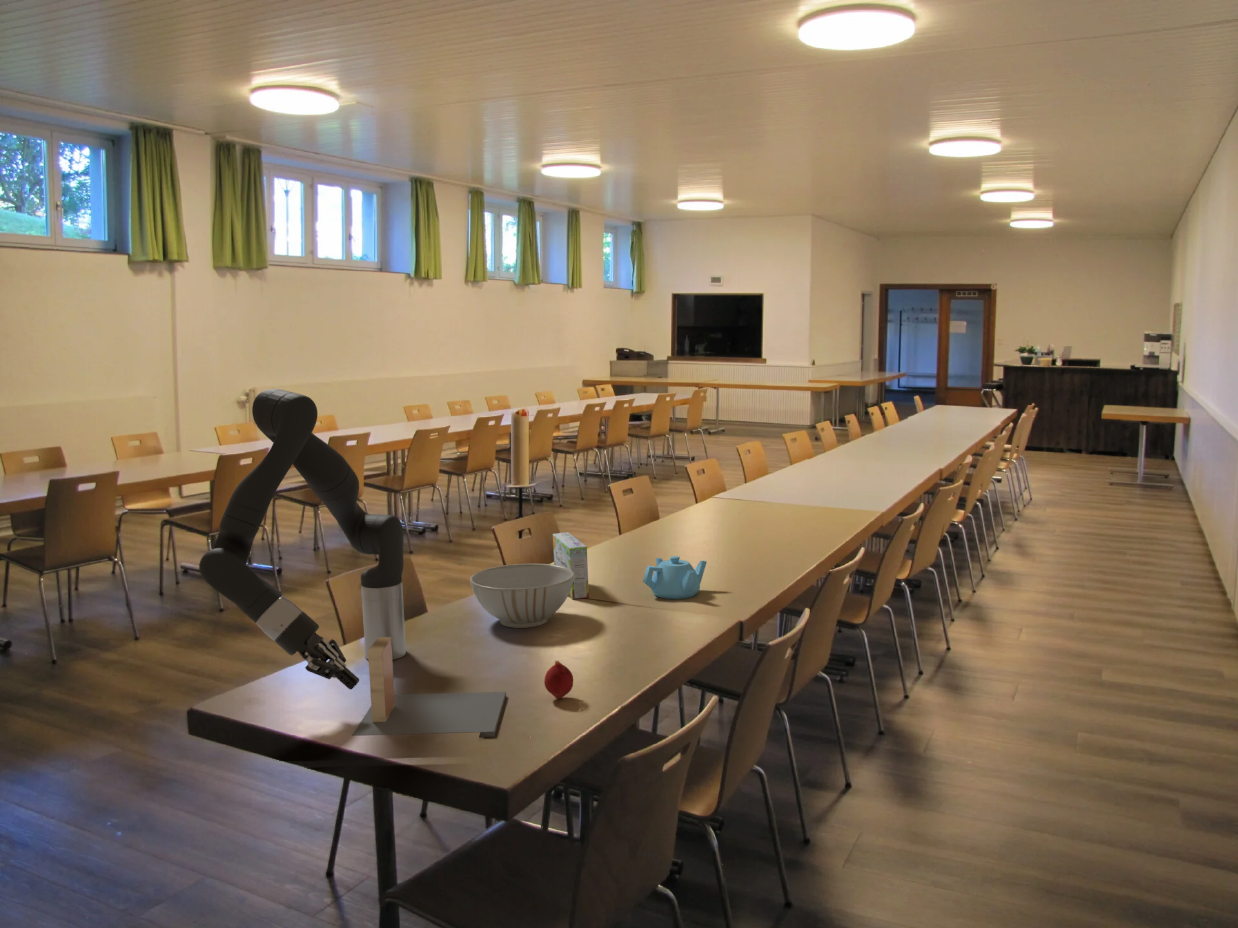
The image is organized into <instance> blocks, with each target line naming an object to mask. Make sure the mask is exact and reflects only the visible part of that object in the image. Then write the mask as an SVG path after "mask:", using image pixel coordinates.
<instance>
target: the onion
mask: <svg viewBox="0 0 1238 928" xmlns="http://www.w3.org/2000/svg"><path fill="white" fill-rule="evenodd" d="M543 681H544V687H545V689H546V691H548V693H549V694H551V695H552V696H553V697H554V698H555V699H557V700H561V699H562V698H564V697H565V696H567V695H568V694H569V693H570V692H571V691H572V689H573V686H574V675H573V673H572V672H571V670H570V669H569V668H568V667H567V666H566V665H564V664H562V663H561V662H560V660H558V659H555V661H554V665H552V666H551V667H550V668H549V669H548V670H547V671H546V673H545V676H544V680H543Z"/></svg>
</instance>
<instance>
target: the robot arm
mask: <svg viewBox="0 0 1238 928" xmlns="http://www.w3.org/2000/svg"><path fill="white" fill-rule="evenodd" d="M251 410H252V412H251V413H252V418H253V421H254V423H255V425H256V427H257V428H258V429H259V431H261V433H262V434H263V435H264V436H265V437H266V438H268V440H270V442H272V445H271V447H270V448H269V450H268V452H267V453H266V455H265V456H264V458H263V459H262V460H261V461H260V462H259V463H258V465H256V466H255V467H254V468H253V470H251V471H250V472H249V473H248V474H247V475H246V476H245V477H244V478H243V479H242V480H241V481H240V482H239V483H238V484H237V486H236V487H235V489H234V491H233V492H232V494H231V495H230V498H229V500H228V503H227V504H226V507H225V509H224V512H223V515H222V517H221V518H220V523H219V533H218V535H217V536H216V539H215V542H214V544H213V547H212V549H211V550H208V551H207V552H205V553H204V554H203V556H202V557H201V559H200V560H199V565H198V570H199V575H200V576H201V578H202V579H203V580H204V582H206V583H207V584H208V585H209V586H210V587H212V588H213V589H214V590H215V591H216V592H218V593H219V594H221V595H222V596H223V597H225V599H227V600H229V601H230V602H232V603H233V604H235V606H237V608H239V610H240V611H242V613H244V615H246V616H247V617H248V618H249V619H251V621H253V622H254V623H255V624H256V625H257V626H258V627H259V629H260V630H261V631H262V632H263V633H264V634H265V635H266V636H268V638H269V639H271V640H272V641H273V642H274V643H276V645H277V646H279V647H280V648H281V649H282V650H283V651H285V652H286V653H287V654H288V655H289V656H294V655H295V654H296V653H298V654H299V655H300V656H301V658H302V659H304V660H305V661H306V662H307V665H306V666H305V667H304V668H305V670H306V671H307V672H309V673H312V674H314V675H317V676H319V677H322V678H325V679H327V680H331V679H337V680H338V681H339V682H340V683H341V684H342V685H344V686H345V687H346V688H347V689H348V690H350V691H351V690H354V688H355V687H356V686H357V685H358V683H359V682H360V678H359V677H358V676H356V675H355V673H353V672H352V671H351V670H350V669H349V668H347V664H346V662H347V659H346V657H345V655H344V653H343V651H342V650H341V649H340V647H339V645H338V643H337V642H336V641H335V640H334V639H330V641H328V640H326V639H325V638H324V637H323V636H321V635H319V634H318V633H316V632H317V631H318V630H319V628H320V626H319V625H320V624H318V623H317V622H316V621H315V620H314V619H313V618H312V617H311V616H309V615H308V614H307V613H306V612H305V611H304V610H303V609H301V607H299V606H298V605H297V604H296V603H294V602H293V601H292V600H290V599H289V598H287V597H286V596H284V595H283V594H282V593H281V592H280V590H278V589H276V587H274V586H273V585H272V584H271V583H270V582H268V581H267V580H266V579H264V578H262V577H260V576H259V575H257V574H256V573H255V572H254V571H253V570H252V569H251V568H249V567H248V565H247V562H248V559H249V556H250V554H251V550H252V548H253V543H254V540H255V538H256V535H257V534H258V532H259V531H260V528H261V525H262V523H263V521H264V520H265V519H264V518H265V516H266V513H268V512H267V511H268V510H269V506H270V504H271V502H272V500H273V499H274V496H275V494H276V492H277V490H278V488H279V486H280V485H281V484H282V482H283V480H284V478H285V477H286V475H287V474H288V472H289V471H290V469H291V467H292V466H293V467H294V469H296V470H297V472H298V473H299V475H300V476H301V477H302V478H303V479H304V481H305V483H307V485H308V486H309V488H310V489H311V490H312V491H313V493H314V494H315V495H316V497H318V499H319V500H320V501H321V503H323V505H325V507H326V508H327V510H328V511H329V512H330V514H331V516H332V517H334V519H335V520H336V522H337V523H338V525H339V527H340V529H341V531H342V532H343V534H344V535H345V538H346V539H347V540H348V542H349V543H350V546H352V547H353V549H354V550H355V551H356V552H358V553H360V554H365V555H374V556H375V555H376V556H378V563H377V565H376V566H374V567H373V566H372V567H370V568H368V569H366V570H364V571H362V572H361V573H360V591H361V603H362V604H361V605H362V606H361V607H362V621H363V623H362V624H363V625H362V626H363V636H364V638H363V639H364V640H363V641H364V655H365V656H364V657H365V659H367V660H368V661H369V658H368V650H369V649H370V647H371V646H372V645H373V643H374V642H375V641H376V640H377V638H378V637H391V644H392V661H393V660H398V659H400V658H403V657H404V656H405V655H406V654H407V650H406V648H407V647H406V634H405V633H406V629H405V628H406V627H405V612H404V611H405V608H404V593H403V570H404V563H405V562H404V528H403V523H402V522H401V520H400V517H398V516H396V515H394V514H393V515H392V514H379V513H378V514H377V513H376V514H374V513H373V514H372V513H367V512H366V511H365V510H364V509H362V507H361V506H360V505H359V503H358V496H359V491H360V481H359V477H358V476H357V473H356V472H355V471H354V470H353V468H352V467H351V465H350V464H349V463H348V461H347V460H346V459H345V458H344V456H343V455H341V453H339V451H337V450H336V449H335V448H333V446H331V445H330V444H328V443H327V442H325V441H324V440H323V439H321V438H320V437H319V436H317V435H316V434H314V433H313V431H314V429H315V427H316V424H317V420H318V407H317V405H316V403H315V402H314V400H313V399H312V398H310V397H309V396H307V395H304V394H300V393H296V392H292V391H289V390H285V389H280V388H279V389H277V388H270V389H269V388H268V389H264V390H263V391H260V392H259V393H258V394H257V395H256V396H255V398H254V400H253V403H252V407H251Z"/></svg>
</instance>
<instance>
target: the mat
mask: <svg viewBox="0 0 1238 928" xmlns="http://www.w3.org/2000/svg"><path fill="white" fill-rule="evenodd" d="M394 697H395V706H394V708H393V710H392V712H391V713H390V715H389V717H388V718H387V720H386V722H372V709H371V706H370V707H369V709H368V710H367V712H366V713H365V714H364V716H363V718H362V719H361V720H360V722H359V723H358V725H357V727H356V728H355V730H354V731H353V732H352V735H351V736H382V735H383V736H384V735H385V736H389V735H416V734H417V735H423V734H427V735H428V734H430V735H431V734H457V733H459V734H460V733H462V734H463V733H466V734H467V733H479V736H478V737H479V738H490V737H491V738H494V737H495V735H496V734H497V733H496V732H497V729H498V726H499V725H498V724H499V721H500V718H501V716H502V715H501V714H502V712H503V708H504V704H505V701H506V698H507V692H506V691H485V692H484V691H481V692H478V691H477V692H450V693H449V692H445V693H443V692H442V693H437V692H436V693H408V694H407V693H406V694H401V693H400V694H394Z"/></svg>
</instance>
